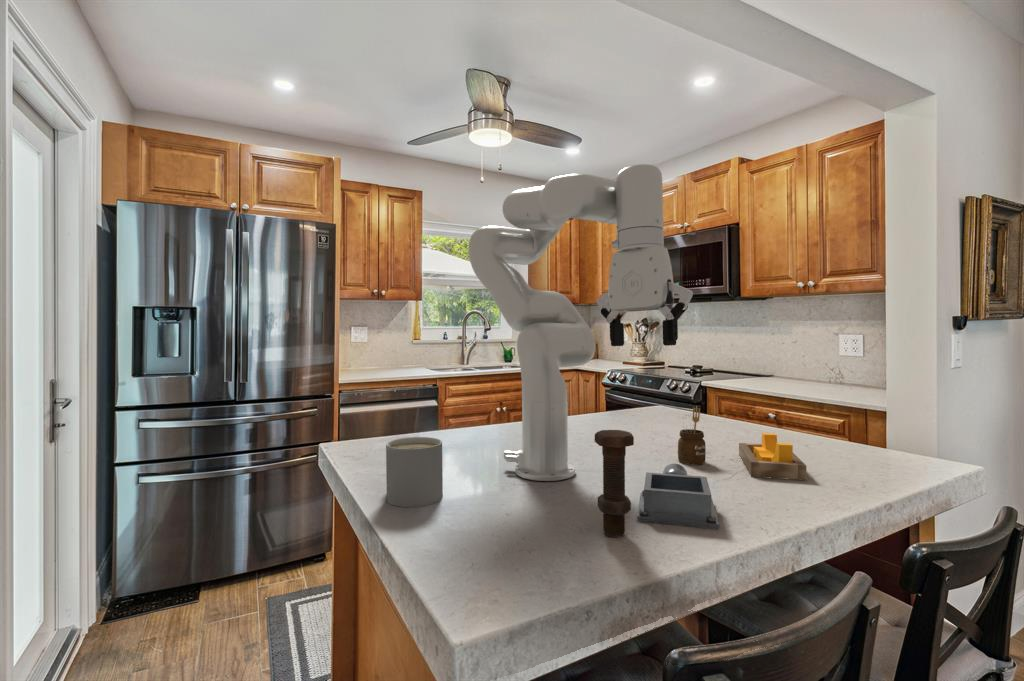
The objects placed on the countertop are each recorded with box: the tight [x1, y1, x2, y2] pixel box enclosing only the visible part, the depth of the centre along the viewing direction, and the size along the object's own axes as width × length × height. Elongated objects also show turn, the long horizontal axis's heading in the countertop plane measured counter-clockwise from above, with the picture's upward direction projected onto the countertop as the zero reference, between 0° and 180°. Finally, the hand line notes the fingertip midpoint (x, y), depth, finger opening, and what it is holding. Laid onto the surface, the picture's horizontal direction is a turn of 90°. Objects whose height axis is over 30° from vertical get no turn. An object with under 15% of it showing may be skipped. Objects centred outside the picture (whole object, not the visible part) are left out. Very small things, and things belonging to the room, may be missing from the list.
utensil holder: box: [677, 406, 707, 466], centre depth 115 cm, size 6×6×12 cm
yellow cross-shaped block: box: [754, 432, 794, 463], centre depth 110 cm, size 12×4×6 cm, turn 169°
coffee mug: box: [385, 436, 444, 508], centre depth 93 cm, size 13×10×10 cm
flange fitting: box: [636, 463, 720, 530], centre depth 87 cm, size 12×18×5 cm, turn 163°
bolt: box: [594, 429, 635, 538], centre depth 74 cm, size 6×5×15 cm
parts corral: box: [738, 442, 807, 481], centre depth 110 cm, size 10×18×3 cm, turn 163°
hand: (642, 345), depth 84 cm, fingers open, 9 cm apart
